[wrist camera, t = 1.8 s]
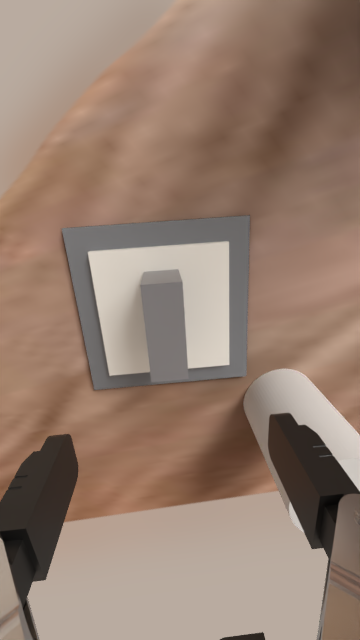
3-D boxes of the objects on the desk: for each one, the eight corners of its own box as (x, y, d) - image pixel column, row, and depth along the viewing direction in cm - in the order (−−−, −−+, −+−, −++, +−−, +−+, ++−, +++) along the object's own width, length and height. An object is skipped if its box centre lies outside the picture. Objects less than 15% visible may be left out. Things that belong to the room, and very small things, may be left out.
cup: (263, 439, 34) (314, 551, 23) (230, 393, 31) (270, 493, 20) (324, 406, 33) (410, 506, 21) (295, 355, 30) (376, 439, 19)
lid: (89, 251, 24) (69, 261, 19) (226, 241, 25) (245, 248, 19) (110, 371, 28) (99, 408, 23) (227, 361, 29) (243, 394, 24)
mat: (63, 228, 24) (61, 228, 23) (247, 215, 25) (249, 215, 24) (95, 386, 30) (94, 390, 29) (244, 372, 30) (246, 376, 30)
